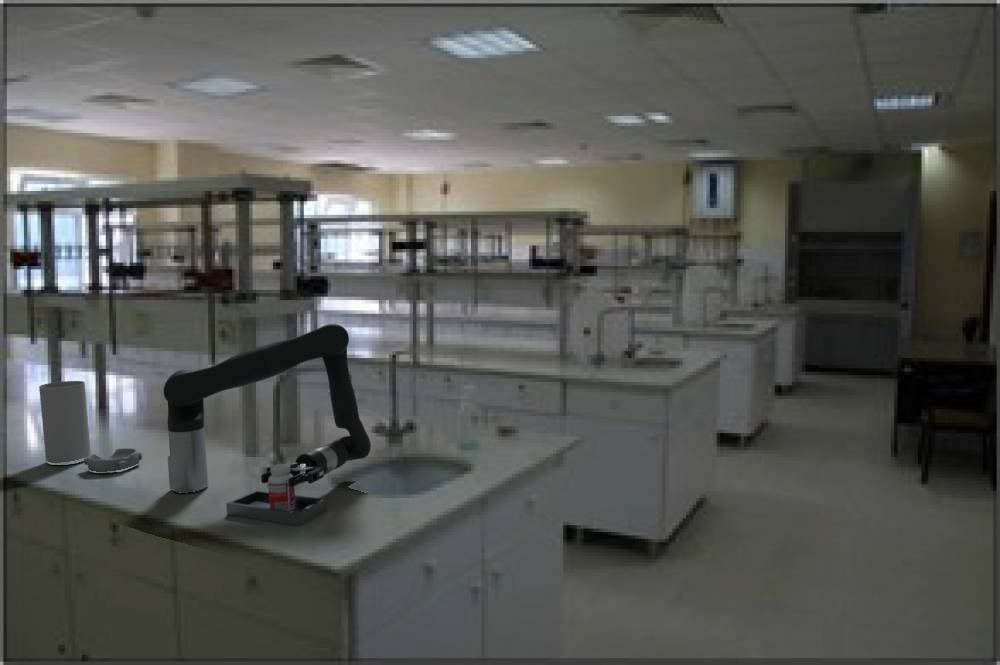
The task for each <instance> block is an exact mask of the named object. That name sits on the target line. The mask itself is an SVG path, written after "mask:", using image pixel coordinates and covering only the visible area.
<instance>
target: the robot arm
mask: <svg viewBox="0 0 1000 665" xmlns="http://www.w3.org/2000/svg"><path fill="white" fill-rule="evenodd" d="M349 343H350V336H349V333H348V331H347V329H346V328H345V327H344V326H342V325H340V324H339V323H338V324H337V323H327V324H324V325H322V326H320V327H318V328H315V329H313V330H311V331H308V332H307V333H305V334H301V335H298V336H296V337H293V338H287V339H283V340H278V341H276V342H275V341H274V342H271V343H267V344H263V345H260V346H256V347H254V348H251V349H248V350H244V351H241V352H240V353H238V354H236V355H235V354H234V355H233V356H231V357H228V358H227V359H225V360H223V361H221V362H219V363H217V364H216V365H215V364H214V365H212V366H210V367H206V368H202V369H198V370H194V371H192V370H189V369H180V370H176V371H175V372H174V373H172V374H171V375H170V376H169V377H168V378H167V380H166V381H165V383H164V386H163V396H164V398H165V401H167V431H168V432H167V433H168V442H169V443H168V444H169V455H168V456H167V469H168V481H169V484H168V485H169V490H170V489H173V491H175V492H181V493H186V492H193V491H198V490H201V489H204V488H206V487H207V486H208V487H209V480H208V464H207V463H208V462H207V448H206V437H205V436H206V434H205V408H204V399H206V398H208V397H210V396H214V395H215V394H217V393H221V392H223V391H228V390H231V389H236V388H239V387H244V386H247V385H250V384H254V383H258V382H260V381H264V380H266V379H269V378H273V377H275V376H277V375H280V374H283V373H284V372H286V371H288V370H289V371H290V370H291V369H292V368H294V367H296V366H298V365H300V364H302V363H306V362H307V361H312V360H314V359H320V358H322V360H323V363H324V367H325V370H326V374H327V379H328V386H329V394H330V403H331V408H332V409H331V410H332V413H333V418H334V424H335V426H336V427H337V428H338V429H344V430H347V431H348V434H349V435H346V436H341V437H338V438H337V439H334V440H333V441H332V442H330V443H328V444H326V445H323V446H319V447H316V448H314V449H311V450H308V451H306V452H304V453H302V454H300V455H298V457H297V458H296V459H295V461H294V462H290V464H287V465H290V472H289V473H290V474H292V475H293V477H291V478H289V487H293V486H294V487H295V486H297V485H299V484H306V483H308V484H310V485H311V484H313V483H316V482H317V481H320V480H321V479H323V478H324V477H325V476H326V475H328V474H330V473H331V472H333V471H335V470H337V469H338V468H341V467H342V466H343V465H345V464H346V463H347V462H348V461H355V460H362V459H365V458H367V457H368V456H369V455H370V452H371V447H372V445H371V440H370V438H369V435H368V433H367V431H366V429H365V427H364V424H363V423H362V421H361V419H360V413H359V408H358V402H357V399H356V394H355V391H354V387H353V384H352V381H351V376H350V372H349V371H350V370H349V365H348V364H349V363H348V345H349ZM280 464H285V462H282V461H281V462H279V463H277V464H274V465H272V466H275V465H280ZM272 466H271V465H270V466H269V467H266V472H265V473H263V474H261V475H260V480H261V483H262V484H268V479H269V477H270V476H271V475H272V474H271V467H272ZM208 487H207V488H208ZM207 488H206V489H207ZM204 490H205V489H204ZM173 491H172V492H173ZM198 492H199V491H198ZM186 494H187V493H186Z"/></svg>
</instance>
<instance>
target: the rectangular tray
mask: <svg viewBox="0 0 1000 665" xmlns="http://www.w3.org/2000/svg"><path fill="white" fill-rule="evenodd" d="M225 507H226V515H227V514H230V515H229V516H231V515H235V516H234V517H238V516H240V517H239V518H245V519H250V518H251V519H252V520H258V521H264V522H269V523H270V522H271V523H277V524H282V525H290V526H296V527H299V526H301V525H303V524H304V523H307V522H309V521H310V520H312V519H314V518H316V517H318V516H319V515H321V514H324V513H325V512H327V502H326V499H325V498H318V497H311V496H303V495H296V494H295V508H294V509H293V510H292V511H286V510H280V509H273V508H270V503H269V490H268V491H267V490H261V489H256V490H254V491H251V492H248V493H246V494H245V495H242V496H239V497H238V498H235V499H233V500H231V501H228V502H226V506H225Z"/></svg>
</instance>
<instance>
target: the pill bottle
mask: <svg viewBox="0 0 1000 665" xmlns="http://www.w3.org/2000/svg"><path fill="white" fill-rule="evenodd" d="M274 465H275V466H273V465H272V467H271V466H270V467H271V474H272V475H271V476H270V477H269V479H268V482H267V484H268V491H269V503H270V508H273V509H280V510H286V511H292V510H293V509H294V508H295V495H296V494H295V486H293V487H289V478H291V477H293V475H292V474H290V473H289V472H290V465H288V464H287V463H286V464H285V463H284V464H280V465H276V464H274Z"/></svg>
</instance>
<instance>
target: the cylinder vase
mask: <svg viewBox="0 0 1000 665" xmlns="http://www.w3.org/2000/svg"><path fill="white" fill-rule="evenodd" d="M38 389H39V401H40V412H41V422H42V431H43V432H42V433H43V442H44V443H43V444H44V452H45V454H44V455H45V462H46V461H48V462H51V463H61V462H70V461H75V460H79V459H82V458H86V457H88V456H89V455H90V454H91V453H92V452H91V451H92V450H91V440H90V439H91V438H90V428H89V420H88V419H89V418H88V415H89V414H88V406H87V392H86V382H85V381H82V380H66V381H64V380H63V381H55V382H49V383H44V384H41V385H39V387H38Z"/></svg>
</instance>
